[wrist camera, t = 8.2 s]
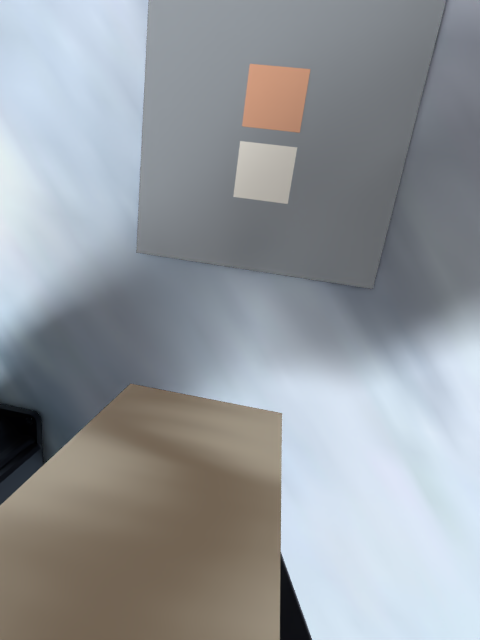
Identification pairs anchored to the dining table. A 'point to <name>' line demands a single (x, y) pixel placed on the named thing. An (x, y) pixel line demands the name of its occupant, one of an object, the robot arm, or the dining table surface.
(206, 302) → the dining table surface
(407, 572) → the dining table surface
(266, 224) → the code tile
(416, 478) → the dining table surface
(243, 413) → the maple block
